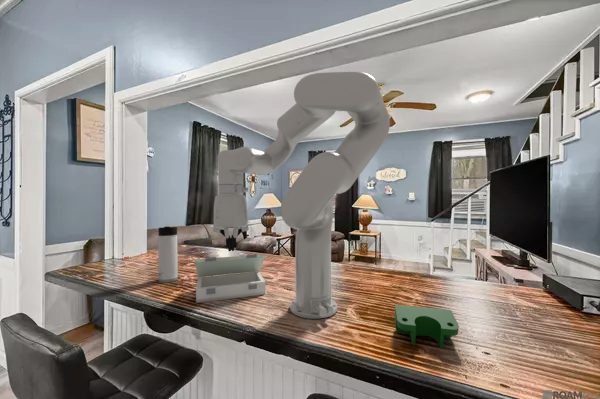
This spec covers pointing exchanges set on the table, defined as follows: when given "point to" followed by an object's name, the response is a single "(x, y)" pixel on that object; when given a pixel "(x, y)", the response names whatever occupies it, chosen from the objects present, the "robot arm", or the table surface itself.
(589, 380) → the table surface
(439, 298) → the table surface
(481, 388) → the table surface
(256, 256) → the cover
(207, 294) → the white latched case
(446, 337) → the clamp
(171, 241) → the travel mug
